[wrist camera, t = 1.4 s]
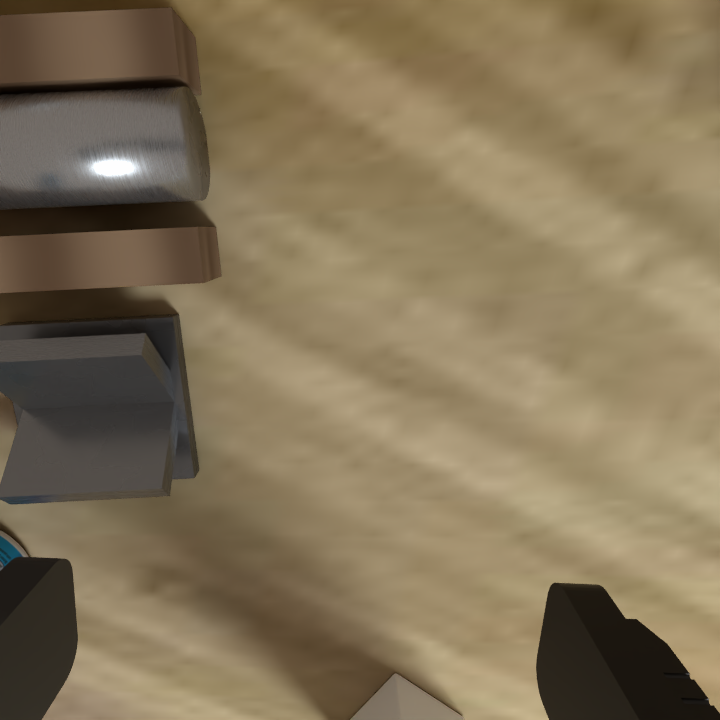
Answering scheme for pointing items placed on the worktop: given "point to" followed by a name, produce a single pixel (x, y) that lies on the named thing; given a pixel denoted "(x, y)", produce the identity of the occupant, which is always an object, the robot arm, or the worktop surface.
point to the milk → (404, 704)
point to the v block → (96, 409)
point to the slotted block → (102, 72)
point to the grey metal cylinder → (102, 148)
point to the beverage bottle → (9, 549)
